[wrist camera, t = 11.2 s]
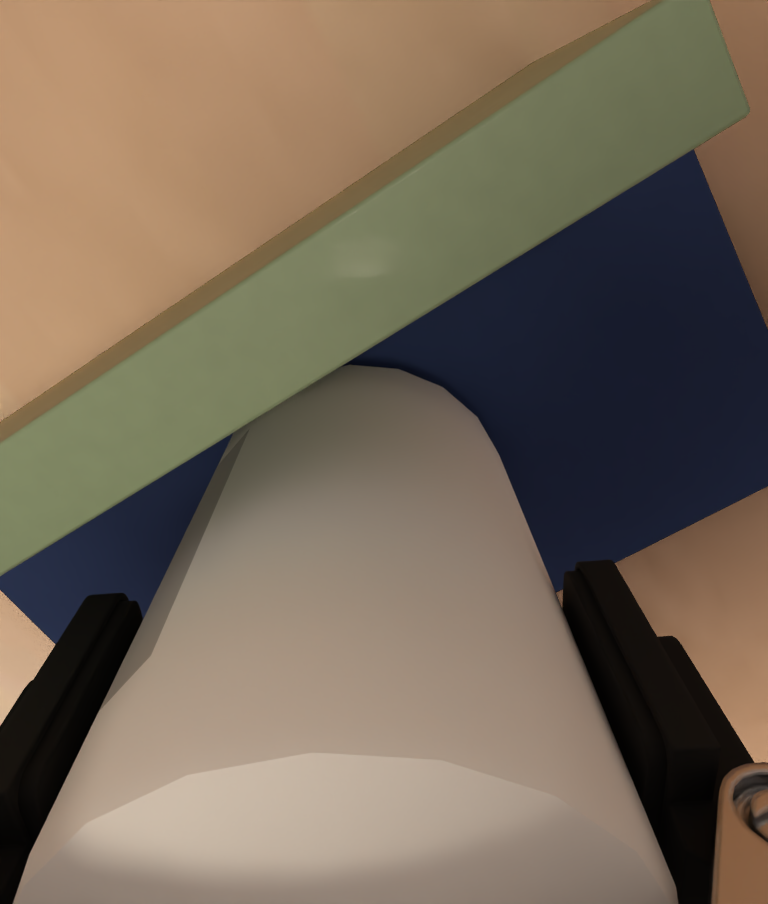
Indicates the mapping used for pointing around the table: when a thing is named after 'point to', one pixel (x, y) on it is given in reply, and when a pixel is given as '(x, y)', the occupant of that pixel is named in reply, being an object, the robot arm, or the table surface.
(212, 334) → the backboard
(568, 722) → the white capped bottle
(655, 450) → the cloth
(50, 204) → the table surface
